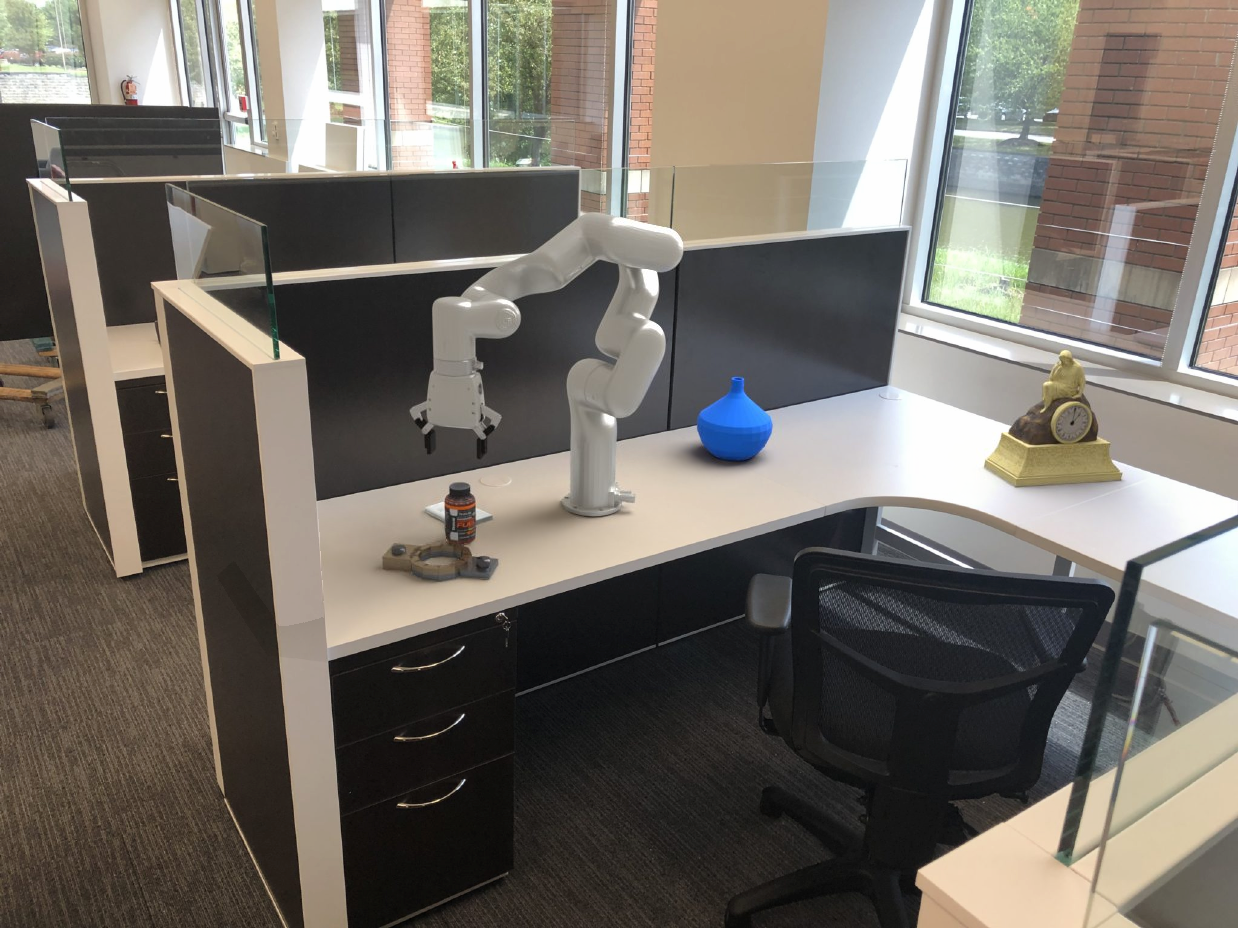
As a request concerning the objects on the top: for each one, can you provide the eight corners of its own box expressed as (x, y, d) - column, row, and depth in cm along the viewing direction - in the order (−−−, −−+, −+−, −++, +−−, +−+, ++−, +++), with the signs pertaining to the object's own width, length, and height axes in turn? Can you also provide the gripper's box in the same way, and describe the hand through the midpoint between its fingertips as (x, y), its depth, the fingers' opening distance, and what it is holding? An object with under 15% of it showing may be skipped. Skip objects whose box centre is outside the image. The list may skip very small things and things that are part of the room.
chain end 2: (502, 558, 181) (501, 546, 180) (485, 585, 171) (485, 573, 170) (422, 550, 183) (421, 539, 182) (401, 577, 173) (400, 565, 172)
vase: (748, 438, 249) (753, 366, 243) (783, 462, 233) (790, 386, 227) (683, 445, 243) (687, 371, 236) (715, 470, 227) (720, 392, 220)
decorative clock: (1015, 487, 223) (1038, 360, 212) (983, 467, 235) (1004, 346, 224) (1120, 480, 229) (1149, 357, 218) (1085, 461, 241) (1110, 343, 230)
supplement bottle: (458, 548, 185) (457, 494, 181) (439, 539, 188) (436, 485, 184) (482, 539, 189) (481, 485, 185) (463, 530, 193) (461, 477, 189)
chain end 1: (478, 556, 182) (478, 541, 181) (460, 583, 172) (460, 568, 171) (399, 548, 184) (398, 534, 183) (377, 574, 174) (376, 559, 173)
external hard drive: (460, 533, 193) (424, 514, 201) (493, 521, 198) (457, 503, 206) (460, 525, 192) (424, 506, 200) (492, 514, 198) (456, 496, 206)
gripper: (506, 365, 179) (506, 452, 184) (416, 357, 181) (418, 444, 187) (495, 375, 172) (495, 465, 177) (401, 367, 174) (404, 457, 180)
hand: (456, 454), depth 182 cm, fingers open, 9 cm apart
